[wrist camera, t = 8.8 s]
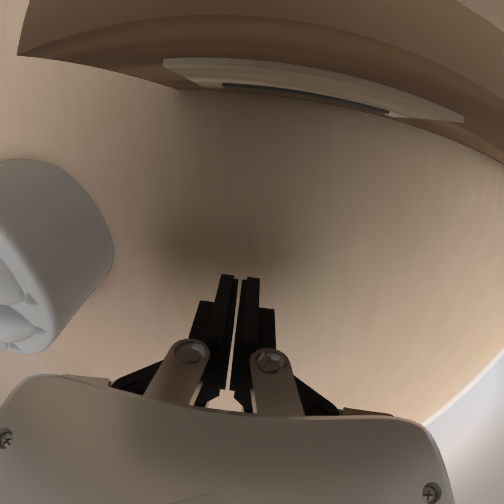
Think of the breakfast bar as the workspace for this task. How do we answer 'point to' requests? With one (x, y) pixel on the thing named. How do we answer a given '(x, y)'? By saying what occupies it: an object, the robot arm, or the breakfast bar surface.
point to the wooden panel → (298, 54)
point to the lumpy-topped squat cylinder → (46, 253)
